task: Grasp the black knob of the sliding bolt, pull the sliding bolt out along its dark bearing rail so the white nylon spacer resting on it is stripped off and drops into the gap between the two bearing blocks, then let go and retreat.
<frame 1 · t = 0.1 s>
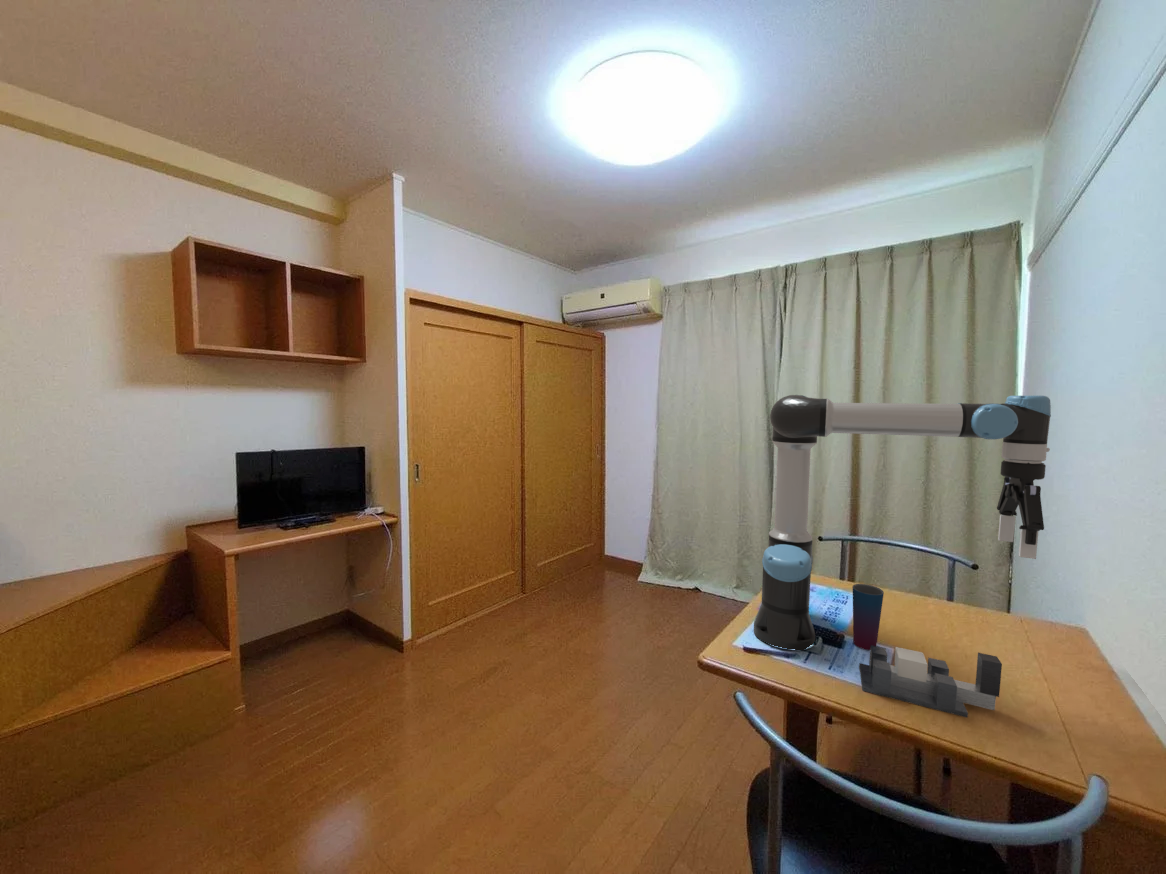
hand: (1015, 549, 108), 28 cm above the table, fingers open, 13 cm apart
bearing rail: (908, 690, 99), on the table
cup: (864, 645, 118), on the table
spacer: (910, 664, 99), point 6 cm above the table, touching sliding bolt
sliding bolt: (934, 669, 97), point 6 cm above the table, slide at 0.0 cm, touching bearing rail, spacer
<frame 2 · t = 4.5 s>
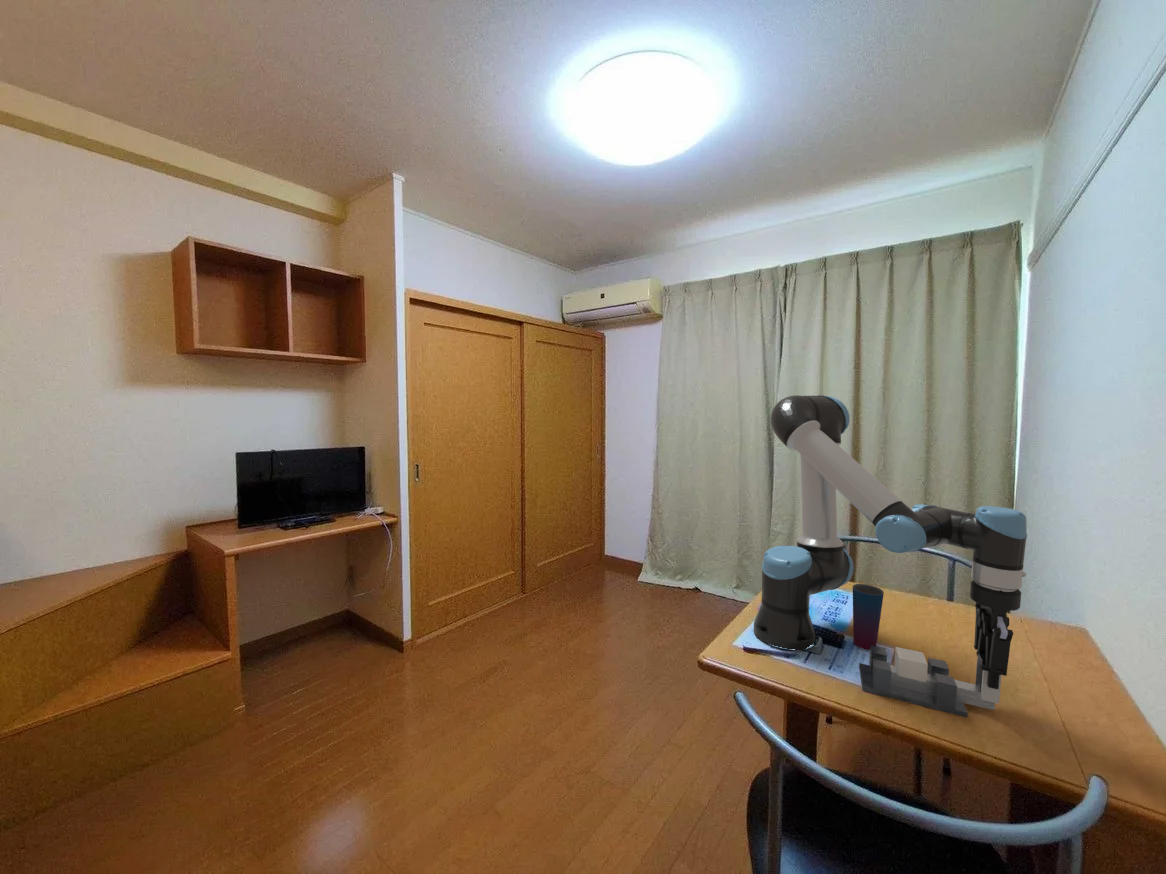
hand: (986, 695, 93), 3 cm above the table, fingers closed on sliding bolt, 3 cm apart
sliding bolt: (934, 669, 97), point 6 cm above the table, slide at 0.0 cm, touching bearing rail, gripper, spacer
everything else where it was.
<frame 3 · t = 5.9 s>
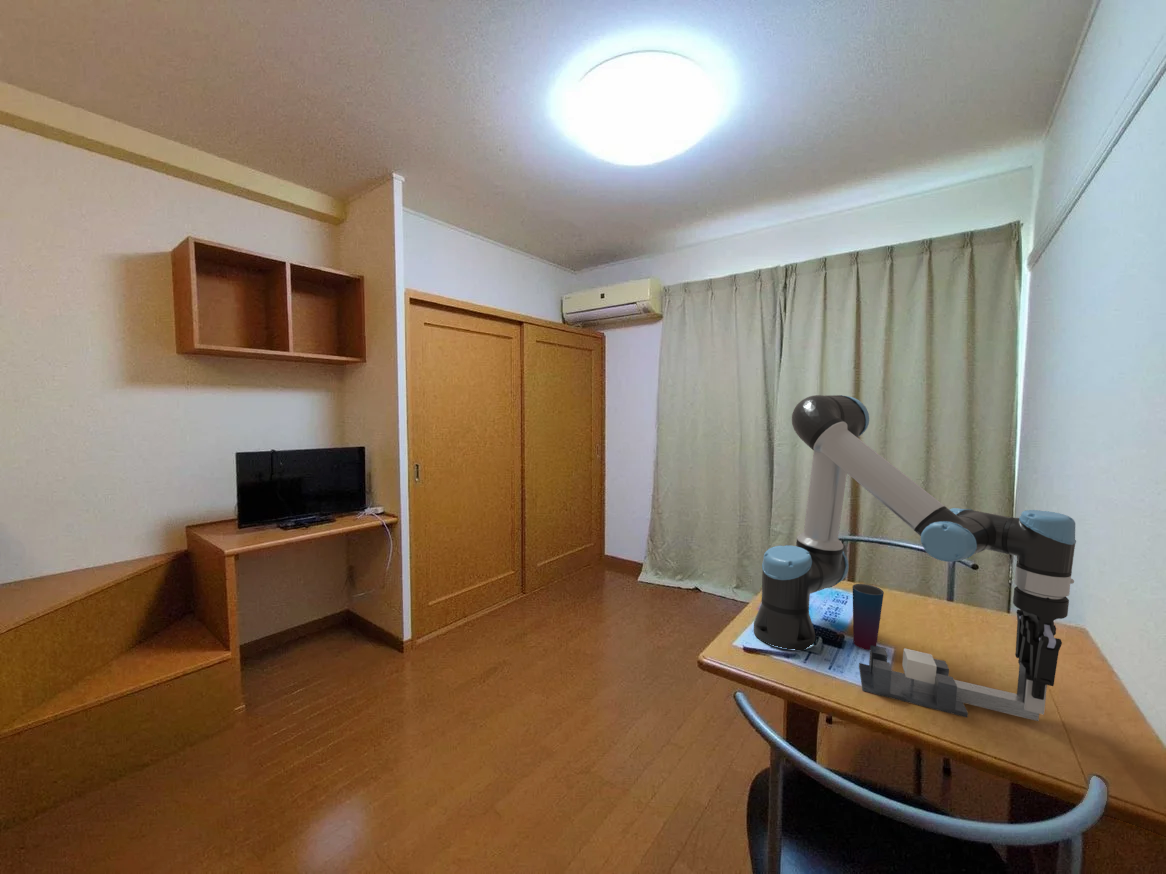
hand: (1029, 705, 90), 3 cm above the table, fingers closed on sliding bolt, 3 cm apart
spacer: (918, 665, 98), point 6 cm above the table, touching sliding bolt
sliding bolt: (973, 678, 94), point 6 cm above the table, slide at 6.6 cm, touching bearing rail, gripper, spacer
everything else where it was.
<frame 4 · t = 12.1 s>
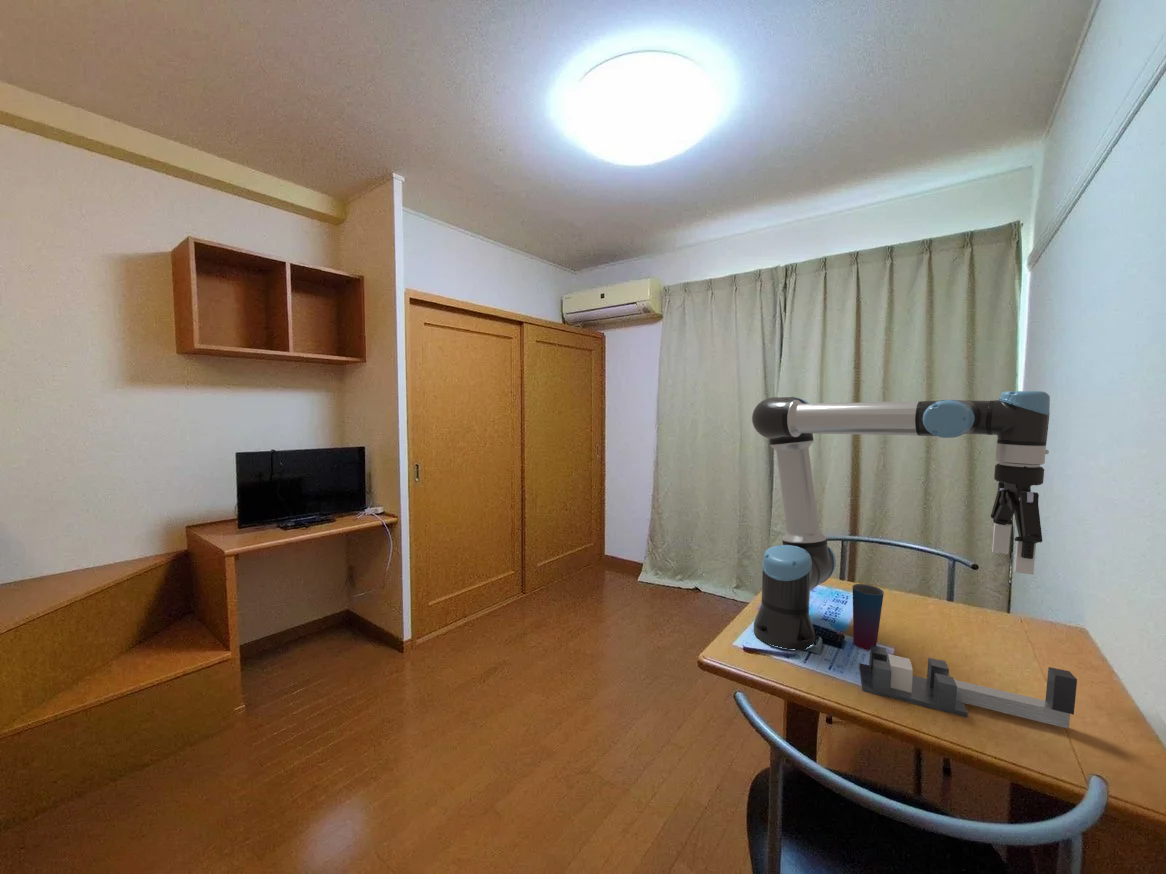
hand: (1011, 562, 97), 29 cm above the table, fingers open, 13 cm apart
spacer: (899, 672, 100), point 3 cm above the table, tilted 90°, touching bearing rail
sliding bolt: (1000, 684, 92), point 6 cm above the table, slide at 10.8 cm, touching bearing rail
everything else where it was.
at the end: spacer point 3.5 cm above the table; spacer inside the target area on the bearing rail (1.9 cm from its centre), point 3.5 cm above the bearing rail's base; sliding bolt slide at 10.8 cm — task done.
